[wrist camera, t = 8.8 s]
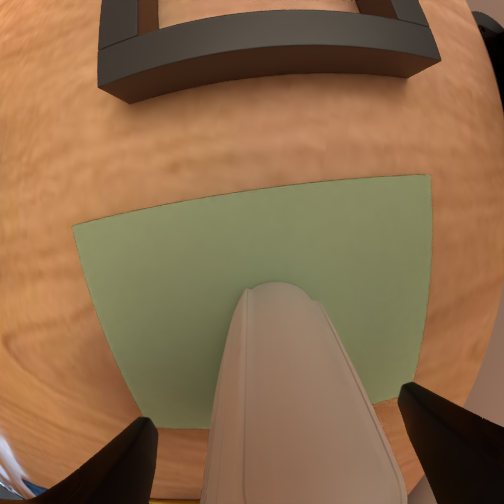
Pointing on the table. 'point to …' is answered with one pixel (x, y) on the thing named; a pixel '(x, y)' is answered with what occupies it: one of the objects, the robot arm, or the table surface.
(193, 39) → the dark rectangular frame
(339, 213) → the mat
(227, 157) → the table surface
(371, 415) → the cream rounded block
